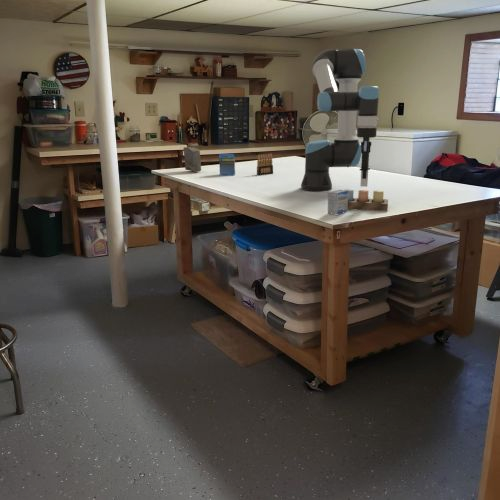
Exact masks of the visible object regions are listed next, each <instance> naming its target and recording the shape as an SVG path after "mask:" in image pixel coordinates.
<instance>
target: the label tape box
mask: <svg viewBox="0 0 500 500" xmlns="http://www.w3.org/2000/svg"><path fill="white" fill-rule="evenodd" d="M218 158H219V159H218V160H219V176H235V175H236V159H235V154H233V153H219V157H218Z"/></svg>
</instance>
